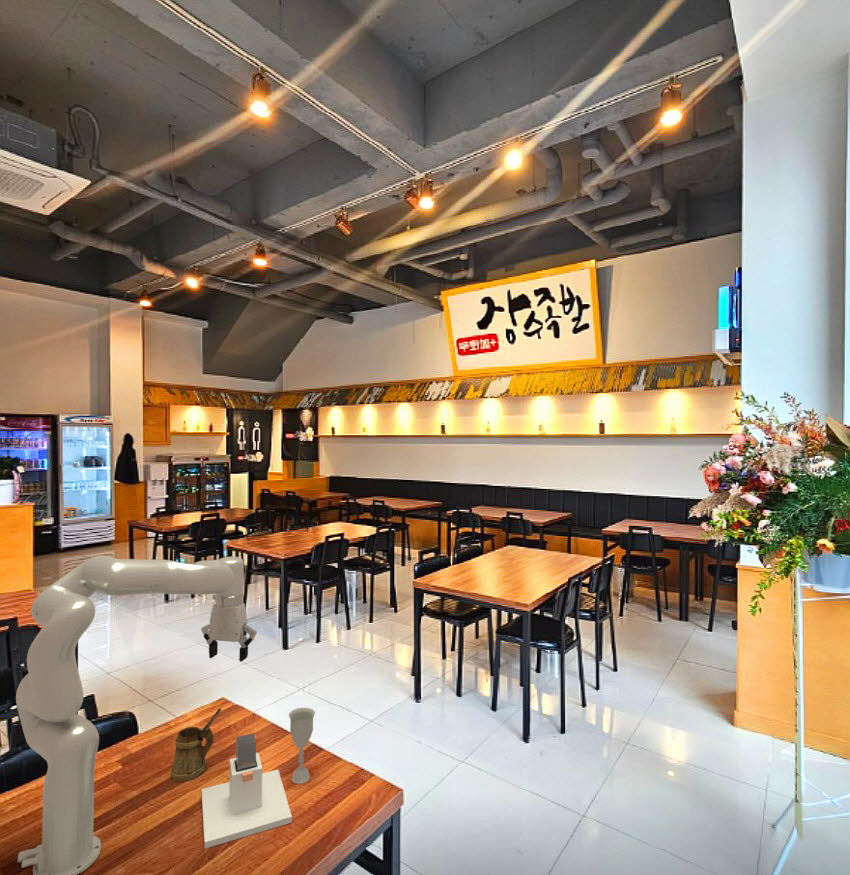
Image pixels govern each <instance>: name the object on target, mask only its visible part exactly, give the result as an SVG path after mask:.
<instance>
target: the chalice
mask: <svg viewBox="0 0 850 875" xmlns="http://www.w3.org/2000/svg"><path fill="white" fill-rule="evenodd" d="M315 714H316V711H315V710H314V709H312V708H310V707H298V708H293V710H291V711H290V712H289V713H288V717H289V719H290V723H289V724H290V727H289V728H290V735H291V739H292V741H293V743H294V745H295V747H297V748H298V749H299V751H298V756H299V759H298V760H297V762H298V764H299V765H298V767H297V768H295V769H294V772H293V774H292V777H291V781H292V782H293V783H294V784H297V785H298V784H299V785H300V784H305V783H306V782H308V781H309V780H310V779H311V775H310V772H309V770H308V768H307V766H304V762H305V758H304V755H305V752H304V748H306V747H307V745H308V743H309V741H310V739H311V737H312V734H313V731H314V717H315Z"/></svg>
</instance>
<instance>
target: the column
mask: <svg viewBox="0 0 850 875" xmlns="http://www.w3.org/2000/svg"><path fill="white" fill-rule="evenodd" d="M235 739H236V740H235V743H236V744H235V758H236V772H239V771H243V770H247V769H251V768H255V767H256V753H257V741H256V737H255V733H250V734H249V733H248V734H244V735H239V736H236V737H235Z"/></svg>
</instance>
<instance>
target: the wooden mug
mask: <svg viewBox="0 0 850 875" xmlns="http://www.w3.org/2000/svg"><path fill="white" fill-rule="evenodd" d="M221 711H222V709H221V707H219V708H218V709H217V710H216V712H215V713H214V714H213V716H212V718H210V720H209V721H208V722H207V723H206V725H205V726H204V727H203V728H199V727H198V726H189V727H185V728H183V729H181V730H180V731H178V733H177V737H176V739H175V744H174V745H175V752H174V757H173V764H172V768H171V771H170V778H171V779H172V780H173V781H174V782H178V783H179V782H180V783H181V782H188V781H191V780H194V779H196V778H198V777H199V776H201V775H202V774H203V772H204V771H205V770H206V769H207V761H206V756H207V754H208V753H209V751H210V749H211V747H212V746H213V743H214V734H213V731H212V729H211V727H210V726H211V725H212V723H213V722H214V721H215V719H216V718H218V715H219V714H220V713H221ZM204 740H206V743H205V745H204V746H203V743H202V742H204Z"/></svg>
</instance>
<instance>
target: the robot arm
mask: <svg viewBox="0 0 850 875" xmlns="http://www.w3.org/2000/svg"><path fill="white" fill-rule="evenodd" d="M244 564H245V563H244V559H243V558H242V557H240V556H224V557H222V558H221V557H220V559H209V560H208V559H207V560H206V559H205V560H199V561H196V562H194V563H192V564H189V563H185V562H180V561H174V560H169V559H140V558H139V559H138V558H137V559H136V558H130V559H129V558H128V559H127V558H116V557H112V556H108V555H103V554H102V555H96V556H92V557H91V558H89V559H87V560H85V561H83V562H82V563H80V564H79V565H77V566H76V567H75V568H73V569H72V570H70V571H69V572H68V573H65V575H63V576H62V577H60V578H59V579H58V580H56V581H55V582H54V583H52V584H51V585H49V586H48V587H47V588H45V589H44V590H43V591H41V593H39V594H38V595H37V596H36V597H35V599H34V601H33V603H32V605H31V609H30V614H31V617H32V619H33V621H34V622H36V623H37V624H38V625H41V626H43V627H42V628H41V629H40V631H39V632H38V634H37V635H36V636H35V638H34V640H33V641H32V642H31V645H30V647H29V648H28V651H27V655H26V667H27V671H28V673H27V674H26V675H24V677H23V678H22V680H21V681H20V683H19V684H18V687H17V690H16V695H15V702H16V703H15V704H16V709H17V711H18V712H17V713H18V715H19V716H18V717H19V719H20V723H21V724H20V725H21V727H22V732H23V734H24V738H25V741H26V743H27V745H28V746H29V748H30V749H31V750H32V751H34V752H35V753H37V755H39V756H41V757H42V758H43V759H44V760H45V761H46V763H47V770H46V775H45V777H44V781H43V785H42V786H43V787H42V825H41V826H42V827H41V828H42V830H41V831H42V834H41V836H42V837H41V839H42V841H41V844H39V845H36V847H35V848H30V849H26V850H23V851H19V852H18V856H17V863H21V868H22V869H24V868H27V867H29V866H33V868H32V875H77V874H78V875H79V873H80V874H82V873H83V872H84V871H85V870H87V869H89V868H90V866H92V865H93V863H94V862H96V860H97V859H98V858H99V856H100V854H101V850H102V842H101V840H100V838H99V837H98V836H97V835H94V816H95V815H94V814H95V813H94V812H95V810H94V809H95V808H94V806H95V801H94V800H95V768H96V766H95V765H96V759H97V758H96V757H97V755H98V754H97V753H98V750H99V749H98V748H99V744H100V736H99V735H100V734H99V732H98V729H97V727H96V726H95V725H94V724H93V723H92V722H91V721H90V720H88V719H87V718H85V717H84V716H82V715H80V714H78V712H79V710H80V709H81V707H82V705H83V702H84V688H83V684H82V681H81V677H80V671H79V668H78V664H77V659H76V647H77V644H78V642H79V640H80V638H81V637H82V636H83V635H84V633H85V632H86V631H87V630H88V629H89V627H90V626H91V624H92V623H93V621H94V618H95V616H96V606H95V603H94V602H93V601H92V600H91V599H90V597H91V596H93V595H94V594H95V593H96V592H97V593H98V594H99V593H100V594H103V595H108V596H128V595H129V596H130V595H150V594H152V595H153V594H154V595H155V594H165V595H212V597H211V598H212V600H215V603H214V604H213V605H212V608H211V612H210V618H209V623H208V624H206V625H204V626H202V627H201V628H200V630H201V632H202V634H203V638H204V640H205V641H206V644H207V645H208V657H209V659H213V658H214V657H216V656H217V655H218V652H219V651H218V649H219V648H218V646H219V644H218V641H219V642H230V643H236V642H238V644H239V645H240V647H239V656H238V658H239V659H238V660H239V662H244V661H245V660H246V659H247V658H248V656H249V645H250V644H251V643H252V642H253V641H254V640H255V638H256V635H257V634H258V631H256V630H255V629H254V628H252V627H251V626H249V625H248V618H247V617H248V616H247V615H248V614H247V609H246V603H245V602H244V572H245V571H244V569H245V567H244V566H245V565H244ZM247 635H248V637H247Z"/></svg>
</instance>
